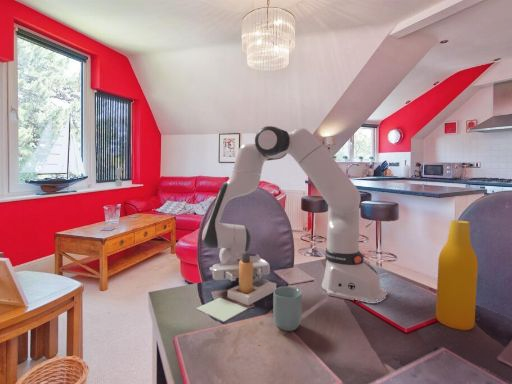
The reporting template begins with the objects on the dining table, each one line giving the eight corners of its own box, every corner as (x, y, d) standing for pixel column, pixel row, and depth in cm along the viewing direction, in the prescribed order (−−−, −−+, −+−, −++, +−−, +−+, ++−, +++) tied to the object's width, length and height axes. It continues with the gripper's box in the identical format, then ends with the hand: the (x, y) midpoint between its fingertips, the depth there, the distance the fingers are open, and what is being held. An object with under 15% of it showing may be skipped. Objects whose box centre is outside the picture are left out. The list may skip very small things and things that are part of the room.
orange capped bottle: (255, 296, 98) (255, 252, 97) (246, 301, 95) (246, 255, 94) (245, 293, 101) (245, 250, 100) (236, 297, 97) (236, 252, 96)
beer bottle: (482, 332, 79) (488, 225, 77) (444, 329, 80) (449, 223, 78) (463, 315, 88) (469, 219, 86) (430, 313, 89) (434, 218, 87)
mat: (247, 312, 89) (247, 308, 89) (223, 325, 82) (223, 321, 82) (220, 301, 97) (220, 297, 97) (195, 312, 89) (195, 308, 89)
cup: (303, 322, 83) (304, 288, 83) (298, 337, 76) (299, 299, 75) (277, 318, 86) (277, 284, 85) (269, 332, 79) (269, 295, 78)
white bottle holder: (256, 286, 109) (256, 275, 109) (276, 293, 103) (276, 281, 103) (227, 300, 98) (227, 288, 97) (248, 308, 92) (248, 295, 92)
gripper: (208, 258, 106) (214, 271, 93) (262, 254, 112) (275, 265, 99) (208, 275, 107) (215, 290, 94) (262, 270, 113) (275, 283, 100)
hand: (246, 277), depth 96 cm, fingers open, 7 cm apart
